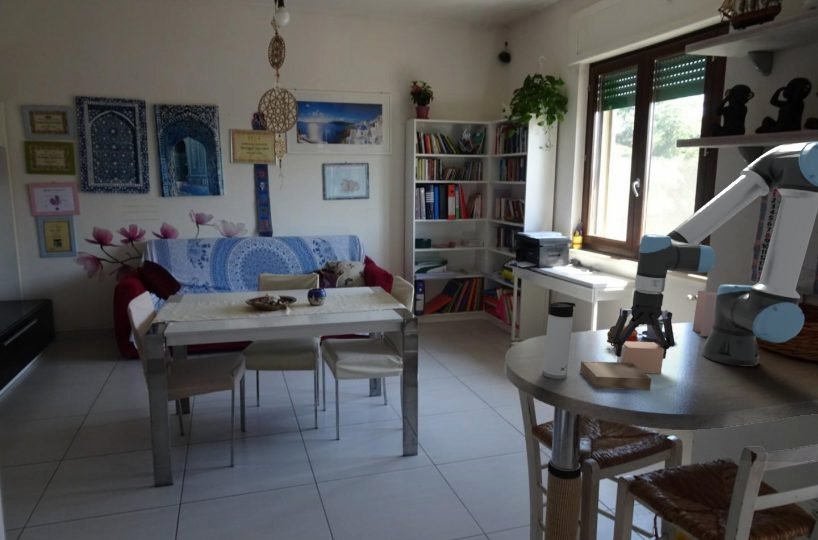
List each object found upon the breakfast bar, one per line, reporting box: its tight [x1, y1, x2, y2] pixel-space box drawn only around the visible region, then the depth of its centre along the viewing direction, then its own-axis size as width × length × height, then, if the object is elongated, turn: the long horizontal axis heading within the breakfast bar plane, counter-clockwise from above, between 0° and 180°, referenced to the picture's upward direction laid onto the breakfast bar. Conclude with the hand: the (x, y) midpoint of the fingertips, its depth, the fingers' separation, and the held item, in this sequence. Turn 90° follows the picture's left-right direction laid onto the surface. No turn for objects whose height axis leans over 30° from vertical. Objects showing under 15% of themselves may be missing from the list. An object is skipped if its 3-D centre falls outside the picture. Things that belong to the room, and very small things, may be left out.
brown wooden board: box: [579, 360, 652, 391], centre depth 147 cm, size 14×12×3 cm
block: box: [623, 341, 664, 374], centre depth 156 cm, size 10×6×7 cm, turn 91°
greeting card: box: [692, 290, 717, 337], centre depth 196 cm, size 11×7×15 cm, turn 66°
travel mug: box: [542, 301, 576, 380], centre depth 147 cm, size 6×7×20 cm
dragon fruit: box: [606, 325, 640, 349], centre depth 175 cm, size 8×8×12 cm
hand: (638, 368), depth 156 cm, fingers closed on block, 10 cm apart
